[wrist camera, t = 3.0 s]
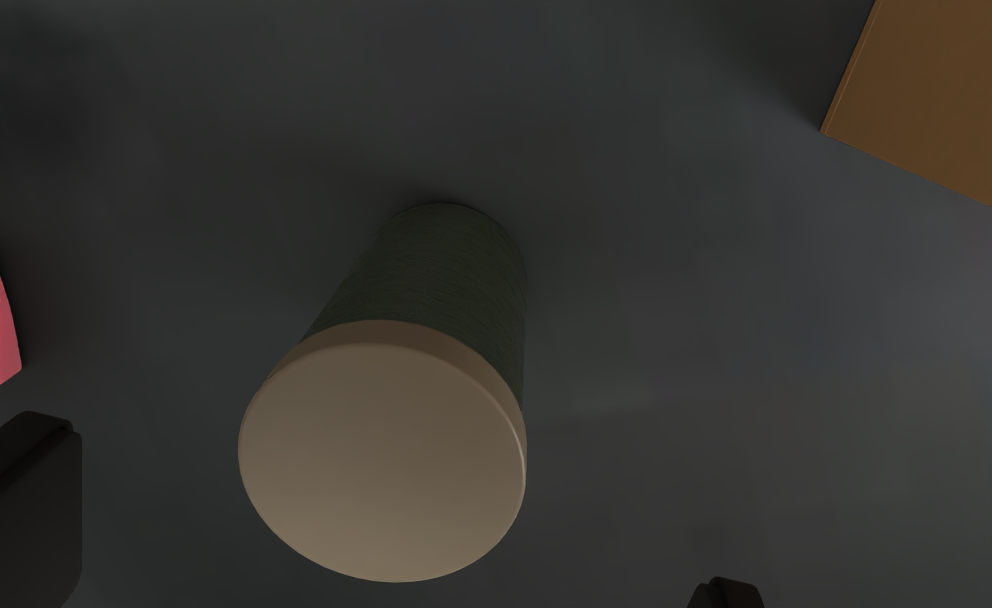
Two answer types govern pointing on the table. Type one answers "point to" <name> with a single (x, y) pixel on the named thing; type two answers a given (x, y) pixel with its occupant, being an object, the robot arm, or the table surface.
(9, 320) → the ink box
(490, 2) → the table surface
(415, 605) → the table surface
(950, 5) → the carton
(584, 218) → the table surface
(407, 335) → the tea tin
